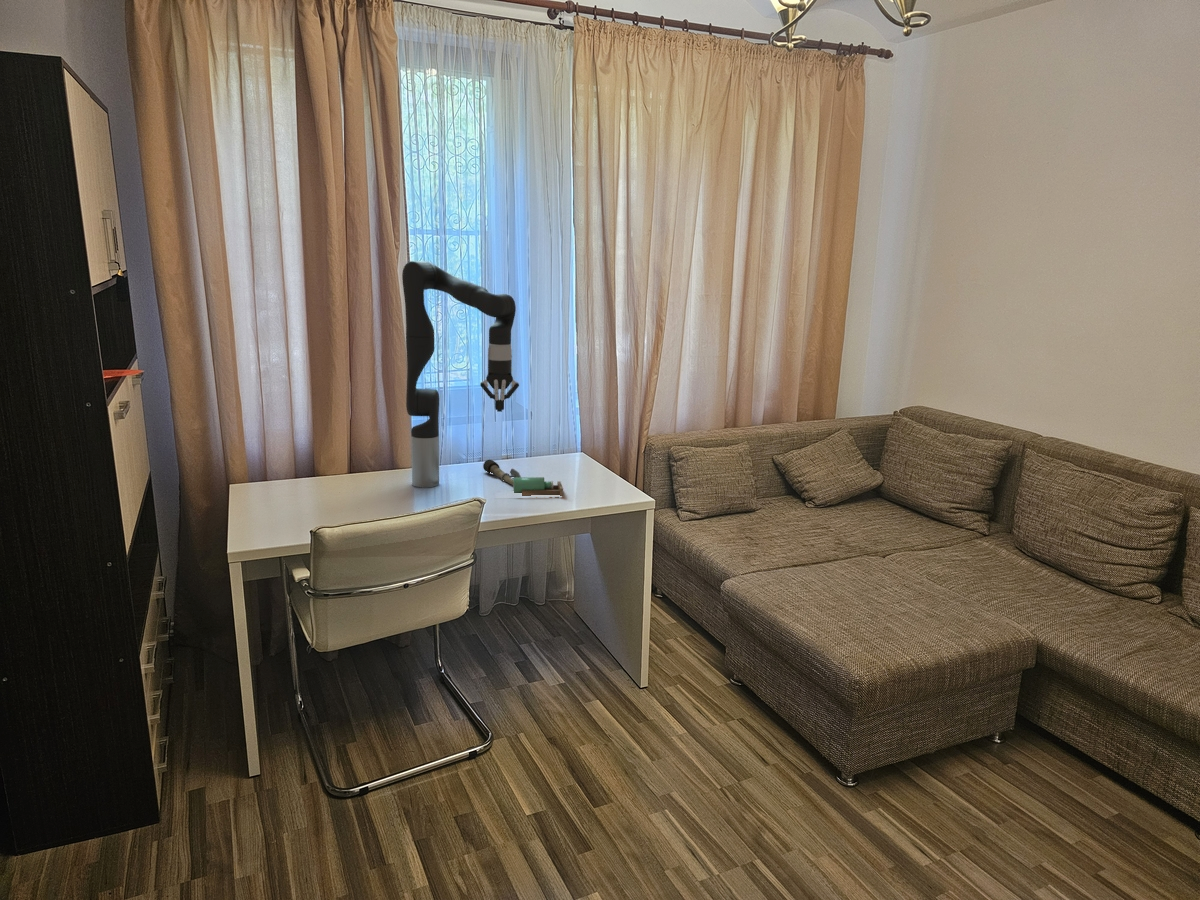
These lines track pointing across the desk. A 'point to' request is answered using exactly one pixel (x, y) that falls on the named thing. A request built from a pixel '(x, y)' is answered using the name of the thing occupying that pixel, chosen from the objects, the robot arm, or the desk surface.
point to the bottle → (530, 484)
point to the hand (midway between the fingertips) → (499, 411)
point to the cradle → (545, 491)
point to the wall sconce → (500, 471)
